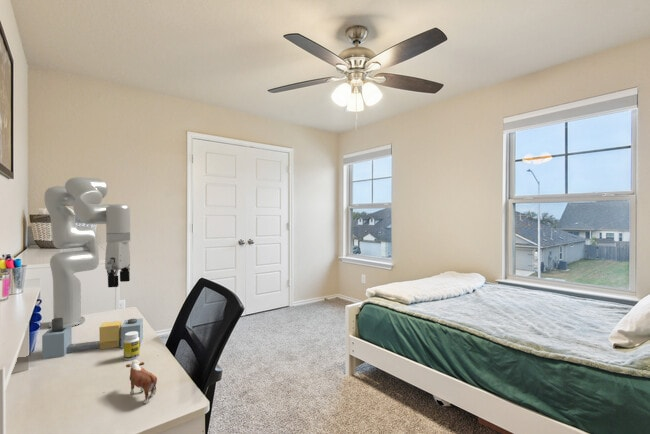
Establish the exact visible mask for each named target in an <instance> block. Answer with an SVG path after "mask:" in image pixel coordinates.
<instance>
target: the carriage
mask: <svg viewBox="0 0 650 434" xmlns="http://www.w3.org/2000/svg"><path fill="white" fill-rule="evenodd" d="M121 327H122V320H118V321H117V320H116V321H108V322H107V321H106V322H102V323H101V324H100V326H99V331H98V332H99V334H98V335H99V341H100V349H99V350H103V349H105V350H106V349H112V348H120V347H119V340H120V338H121Z"/></svg>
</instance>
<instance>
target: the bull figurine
mask: <svg viewBox="0 0 650 434" xmlns="http://www.w3.org/2000/svg"><path fill="white" fill-rule="evenodd" d="M144 365H145V362H144V361H142V362H140V361H139V360H138V359H134V360H132V362H131V363H127V364H126V365H125V367H126V368H130V372H129V373H130V375H129V381H130V391H129V393H130V394H131V395H133V394H134V390H135V388H139V389H140V390H139V392H140V391H141V392H140V393H144V397H145V400H144V401H143V403H146V404H148V403H149V401H148V400H149V399H148V398H149V396H151V397H150V398H152V397H154V396H155V395H156V393H157V383H158V377H157V376H156V375H154V374H153V373H152V372H150V371H148V370H146V369H145V368H143V366H144ZM141 366H142V367H141ZM142 391H144V392H142ZM149 393H150V394H149Z"/></svg>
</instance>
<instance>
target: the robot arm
mask: <svg viewBox="0 0 650 434" xmlns="http://www.w3.org/2000/svg"><path fill="white" fill-rule="evenodd" d="M108 191H109V190H108V185H107V183H106V182H105V180H103V179H101V178H95V177H82V176H81V177H79V176H75V177H71V178H69V179H67V181H66V182H65V184H64V186H63V185H62V186H60V185H59V186H58V185H57V186H51V187H48V188H47V189H45V192H44V196H43V197H44V199H43V200H44V205H45V207H46V210H47V212H48V215H49V218H50V223H51V224H50V228H51V235H52V237H51V238H52V243H53V246H54V247H55V248H56V249H62V250H64V249H76V248H82V250H72V251H62V252H58V253H55V254H53V255H52V256H51V258H50V259H49V266H50V271H51V276H52V297H53V298H52V299H53V300H52V301H53V302H52V304H53V306H52V309H53V318H52V319H55V318H63V326H72V327H75V325H76V326H78V324H79V325H81V324H83V323H84V322H86V318H85V316H82V300H81V299H82V298H81V297H82V295H81V292H82V289H81V288H82V287H81V281H80V279H79V278H78V276H76V275H75V274H76V273H80V272H81V273H82V272H88V271H94V270H95V269H97V268H98V266H99V263H100V257H99V255H100V254H99V243H98V235H97V232H96V230H95V228H93V227H91V226H85V225H84V226H83V225H81V226H77V224H76V218H77V219H78V220H79V221H80V222H81V223H83V224H86V225H105V227H106V229H105V234H106V235H105V236H106V246H105V247H106V248H105V258H104V260H105V261H104V267H105V270H106V273H107V275H106V276H107V286H108V287H107V288H118V287H119V285H120V284H119V282H123V283H125V282H130V280H131V279H130V277H131V276H130V270H131V268H130V265H131V263H130V262H131V253H130V252H131V250H130V243H129V242H131V212H130V211H131V209H130V206H129V205H128V204H120V203H119V204H118V203H117V204H116V203H115V204H110V203H107V204H105V203H104V204H103V203H102V201H103V199H104V198H105V197H106V196H107V194H108ZM101 203H102V204H101ZM68 207H72V208H73V212H72V211H71V210H70V209H69V208H68ZM119 270H120V271H119ZM118 273H119V275H118ZM48 327H49V328H50V327H51V328H52V321H50V322H49V323H48Z"/></svg>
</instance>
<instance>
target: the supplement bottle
mask: <svg viewBox="0 0 650 434" xmlns="http://www.w3.org/2000/svg"><path fill="white" fill-rule="evenodd" d="M139 341H140V339H139V337H138V332H137V331H131V332H128V333H126V334H125V340H124V349H123V360H125V361H134V360H137V358H139V357H140V347H139Z"/></svg>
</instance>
